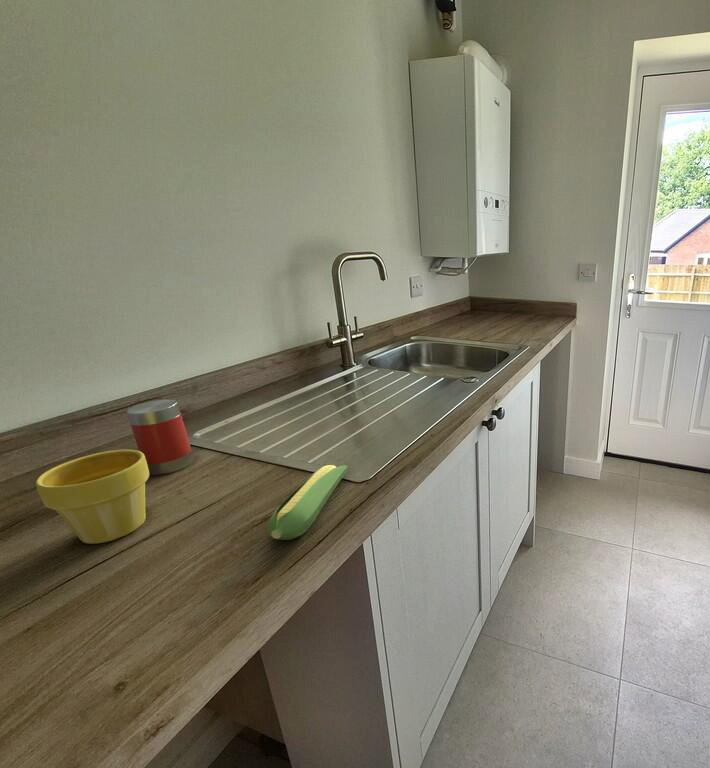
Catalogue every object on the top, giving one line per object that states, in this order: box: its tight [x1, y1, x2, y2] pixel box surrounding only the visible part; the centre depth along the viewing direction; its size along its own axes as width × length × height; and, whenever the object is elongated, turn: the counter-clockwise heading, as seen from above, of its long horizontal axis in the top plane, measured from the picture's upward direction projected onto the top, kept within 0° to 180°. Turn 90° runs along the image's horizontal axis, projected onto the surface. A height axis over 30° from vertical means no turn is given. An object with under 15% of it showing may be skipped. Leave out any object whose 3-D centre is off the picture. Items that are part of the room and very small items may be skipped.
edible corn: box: [268, 460, 350, 541], centre depth 61 cm, size 5×20×5 cm, turn 179°
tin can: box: [126, 399, 194, 476], centre depth 72 cm, size 7×7×12 cm
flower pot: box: [35, 449, 150, 545], centre depth 56 cm, size 10×10×10 cm
